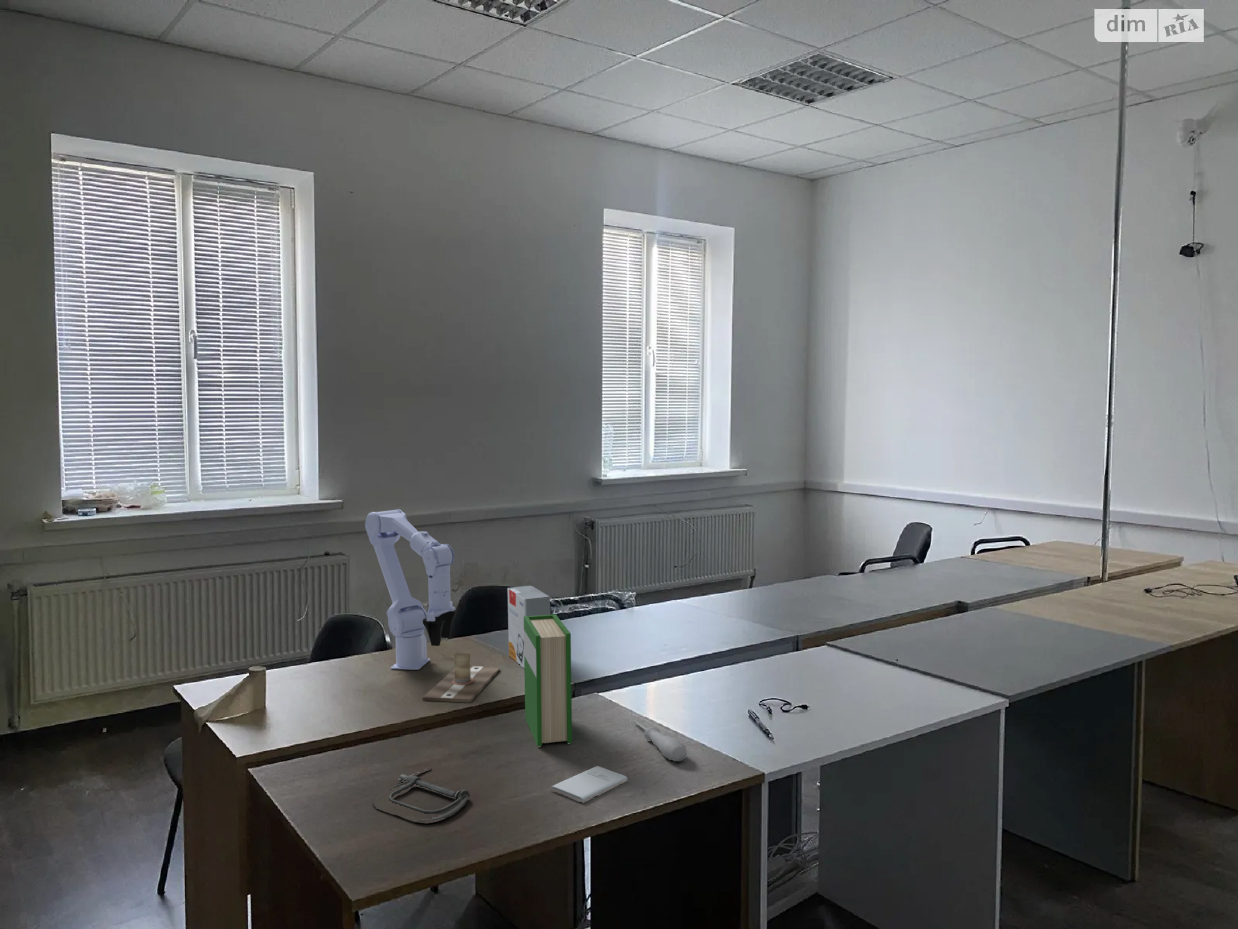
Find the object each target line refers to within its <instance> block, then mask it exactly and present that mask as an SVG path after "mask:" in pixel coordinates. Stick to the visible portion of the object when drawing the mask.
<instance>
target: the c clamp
mask: <svg viewBox="0 0 1238 929" xmlns="http://www.w3.org/2000/svg"><path fill="white" fill-rule="evenodd" d="M426 769H427V768H426ZM426 769H424V770H426ZM416 773H420V771H417V772H416ZM413 775H414V773H412V774H410V775H406V774H400V775H399V776H398V779H397V781H399V782H401V781H402V780H404V781H406V782H403V783H400V784H399V783H398V784H396V785H393V786H391V787H389V788H387V789H385V790H386V791H387V790H391V789H392V788H395V787H401V788H399V789H397V790H395V791H394V792H392V793H391V794H390V795H389V801H391V802H392V803H395V804H399V805H400V806H404V807H407V808H410V809H412V810H415V811H419V812H421V813H424V814H442V815H439V816H438V817H432V819H420V820H424V821H425V820H426V821H428V820H429V821H430V820H433V821H434V820H438V819H441V818H447V817H449V816H451V815H452V814H454V815H456V814H457V813H458V812H460V811H461V810H462V809H463V808H462V807H465V805H466V804H467V802H468V801H467V799H468V797H470V796H471V794H470V791H469V790H467V789H460V790H458V791H454V790H451V789H448V788H446V787H445V788H444V787H442V786H439V785H436V784H433V783H430V782H426V781H424V780H422V779H421V778H420V777H419V776H413ZM405 784H407V785H405ZM414 784H416V785H419V786H420V787H425V788H428V789H430V790H434V791H436V792H438V793H441V794H445V795H447V796H450V797H454V798H455V799H454V801H453V802H451V803H449V804H448V805H446V806H444V807H441V808H438V809H433V810H431V809H423V808H421V807H418V806H417V807H416V806H415V805H410V804H407V803H405V802H401V801H399V800H396V799H394V800H393V799H392V797H393V796H394V795H395V794H398V793H400V792H401V791H403V790H406V789H408V788H409V787H412V786H413V785H414ZM382 793H383V791H382ZM379 794H381V792H380V793H379ZM461 808H462V809H461ZM460 809H461V810H460ZM459 810H460V811H459ZM457 811H458V812H457ZM456 812H457V813H456ZM455 813H456V814H455ZM451 817H452V816H451ZM412 818H414V817H412Z"/></svg>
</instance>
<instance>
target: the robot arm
mask: <svg viewBox="0 0 1238 929" xmlns="http://www.w3.org/2000/svg"><path fill="white" fill-rule="evenodd" d="M364 528H365V531H366V533H367V537H368V540H369V542H370V544H371V545H372V547H373V550H374V551H375V555H376V558H377V560H378V564H379V566H380V570H381V573H382V575H383V579H384V581H385V584H386V587H387V590H388V592H389V596H390V599H391V602H392V603H391V605H390V607H389V608H388V609H387V611H386V616H387V623H388V624H387V625H388V628H389V631H390V633H391V634H392V635H393V636H394V637H395V661H396V662H395V663H394V664H393V665H391V666H390V670H406V671H407V670H412V671H413V670H414V671H418V670H420V669H421V668H422V667H423V666H425V665H426V664H427V663H428V662H430V661H431V658H427V657H428V655H427V654H428V653H427V652H428V650H427V637H426V635H425V630H426V632H427V636H428V637H429V641H430V645H431V647H439V646H441V643H442V642H441V641H442V639H450V637H451V633H452V627H453V624H454V620H455V618H456V615H457V613H458V610H456V607H455V606H453V605H454V604H453V601H452V600H451V599H452V596H451V595H452V594H451V566H452V565H453V564H454V562H455V552H454V549H453V547H452V546H451V545H450V544H449V543H444V544H443V543H440V542H439V541H438V540H437V539H435V538H434V537H432V536H431V535H430V534H429V532H428V531H422V530H421V531H418V529H416V528H415V526H414V525H413V524H411V523H410V522H409V520H408V518H407V513H405V512H403V511H402V510H401V509H400V508H396V509H393V510H383V511H371V512H369V513H368V514H367V516H366V519H365V523H364ZM401 537H403V538H404V539H405V540H407V541H408V542H409V546H410V548H411V550H412V551H414V552H415V553H416V554H418V556H420V557H421V558H422V561H423V564H424V568H425V573H426V575H427V584H428V585H427V586H428V587H427V588H428V590H427V591H428V608H427V611H426V609H425V607H423V604H422V601H420V600H418V599H417V598H415V597H413V596H412V594H411V592H410V589H409V586H408V583H407V580H406V577H405V575H404V572H403V569H402V566H401V563H400V560H399V557H398V555H397V554H398V553H397V551H396V547H395V543H397V542H398V541H399V540H400V538H401Z"/></svg>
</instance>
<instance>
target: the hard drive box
mask: <svg viewBox="0 0 1238 929" xmlns="http://www.w3.org/2000/svg"><path fill="white" fill-rule="evenodd" d="M537 615H551V597H550V595H548V594H546V593H544V592H543V591H541V590H539V589H538V588H536V587H534V586H533V585H525V586H524V585H523V586H515V587H512V586H511V587H507V621H508V622H507V624H508V625H507V626H508V627H507V628H508V630H507V631H508V633H507V634H508V636H507V637H508V656H509V657H510V658H511V659H512V660H513V661H515V662H516V663H517V664H518V665H519V664H520V665H519V666H520V667H521V668H523V669H524V616H537Z"/></svg>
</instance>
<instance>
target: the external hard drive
mask: <svg viewBox="0 0 1238 929" xmlns="http://www.w3.org/2000/svg"><path fill="white" fill-rule="evenodd" d="M625 779H627V780H628V777H627V776H626V775H625V774H621V773H619V772H616V771H612V770H609V769H608V768H604V767H602V766H599V765H596V766H594V767H592V768H589V769H587V770H584V771H583V772H580V773H578V774H576V775H574V776H571V777H569V778H567V779H565V780H562V781H560V782H558V783H555V784H553V785H551V787H550V789H551V788H553V789H555V790H559V791H561V792H564V793H565V794H569V795H571V796H573V797H577V798H579V799H581V800H582V801H583V800H585V799H586V798H588V797H592V796H593V795H595V794H598V793H599V792H601V791H602V790H605V789H607V788H609V787H612V786H613V785H615V784H617V783H619V782H621V781H622V780H625Z"/></svg>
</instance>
